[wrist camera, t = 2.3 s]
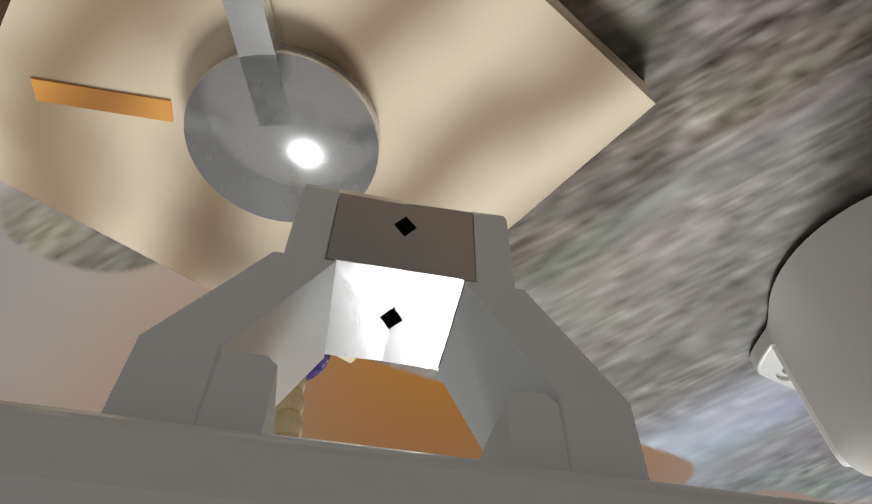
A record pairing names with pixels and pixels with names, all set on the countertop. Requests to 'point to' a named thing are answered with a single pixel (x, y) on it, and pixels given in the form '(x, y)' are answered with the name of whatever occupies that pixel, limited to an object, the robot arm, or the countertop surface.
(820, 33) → the countertop surface
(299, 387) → the toy lamp
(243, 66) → the silver disc with handle
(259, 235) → the birch stand
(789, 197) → the countertop surface
